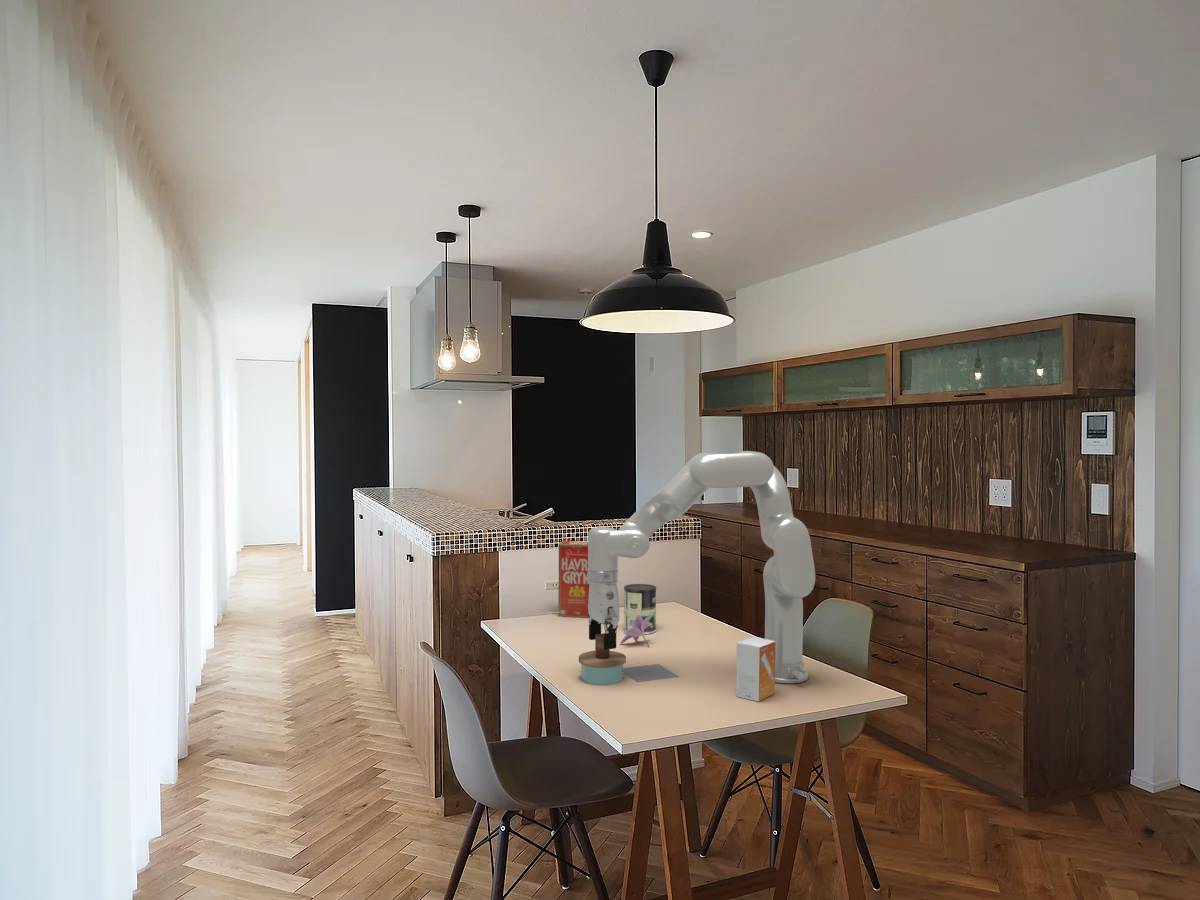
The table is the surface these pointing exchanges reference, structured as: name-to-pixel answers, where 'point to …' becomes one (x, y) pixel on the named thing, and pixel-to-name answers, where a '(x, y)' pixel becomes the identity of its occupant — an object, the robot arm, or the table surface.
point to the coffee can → (640, 605)
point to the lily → (637, 629)
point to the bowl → (601, 675)
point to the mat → (648, 673)
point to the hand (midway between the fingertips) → (602, 643)
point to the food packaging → (573, 579)
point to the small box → (755, 668)
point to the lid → (601, 656)
